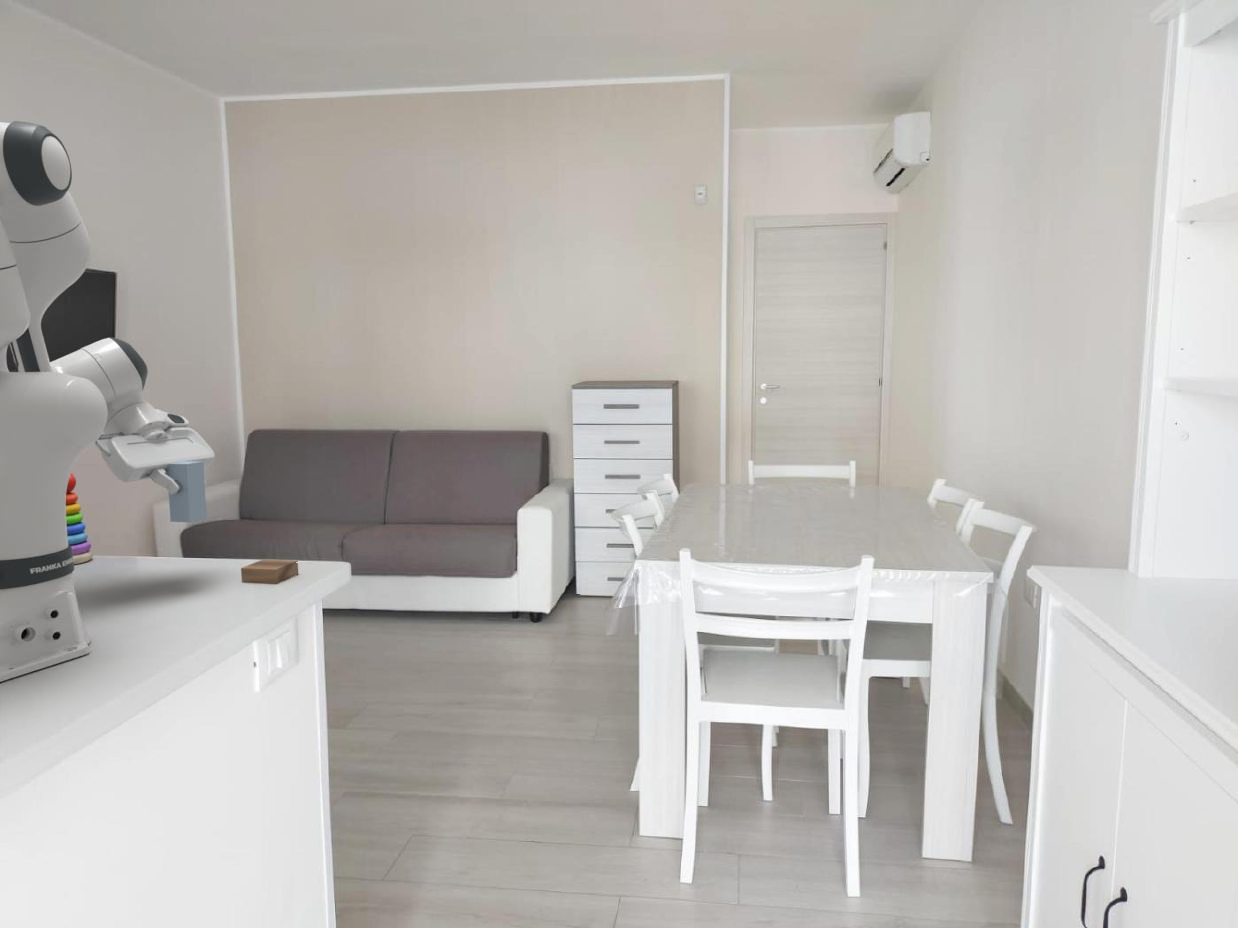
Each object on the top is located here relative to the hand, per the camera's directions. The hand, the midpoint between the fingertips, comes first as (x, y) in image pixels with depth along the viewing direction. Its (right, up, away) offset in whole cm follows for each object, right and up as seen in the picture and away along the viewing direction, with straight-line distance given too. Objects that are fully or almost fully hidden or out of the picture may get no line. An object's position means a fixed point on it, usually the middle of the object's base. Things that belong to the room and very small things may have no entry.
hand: (190, 489), depth 153 cm
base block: (+10, -17, +10) cm, 22 cm away
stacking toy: (-36, -15, +25) cm, 46 cm away
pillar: (-1, -5, +1) cm, 5 cm away
